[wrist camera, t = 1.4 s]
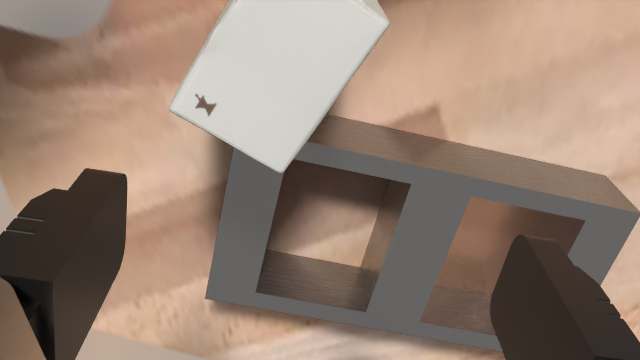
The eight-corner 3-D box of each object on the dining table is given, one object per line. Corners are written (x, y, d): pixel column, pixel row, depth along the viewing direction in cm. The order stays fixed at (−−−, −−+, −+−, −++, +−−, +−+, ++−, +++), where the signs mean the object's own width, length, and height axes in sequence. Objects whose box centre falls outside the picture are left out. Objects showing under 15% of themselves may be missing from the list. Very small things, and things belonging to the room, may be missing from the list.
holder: (215, 254, 35) (204, 298, 31) (246, 96, 30) (237, 126, 27) (533, 314, 37) (556, 361, 34) (605, 175, 33) (641, 213, 29)
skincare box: (290, 69, 30) (279, 182, 19) (216, 20, 28) (159, 112, 18) (363, -37, 27) (396, 24, 17) (285, -95, 26) (267, -68, 16)
